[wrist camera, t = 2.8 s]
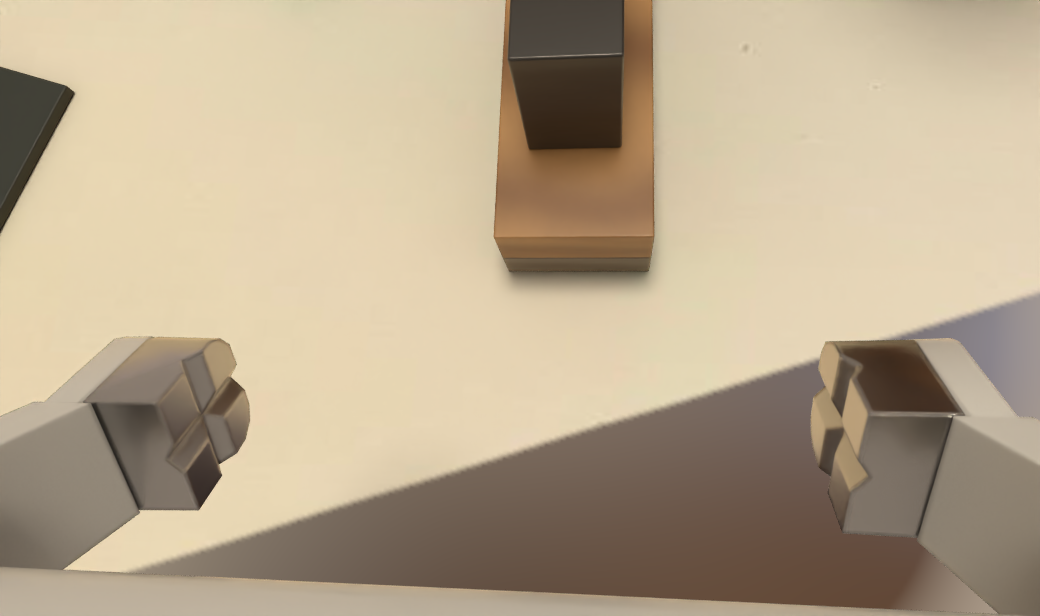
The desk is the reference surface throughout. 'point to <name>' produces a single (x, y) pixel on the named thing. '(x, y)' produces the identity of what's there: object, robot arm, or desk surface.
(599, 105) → the eraser
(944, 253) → the desk surface
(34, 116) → the board
